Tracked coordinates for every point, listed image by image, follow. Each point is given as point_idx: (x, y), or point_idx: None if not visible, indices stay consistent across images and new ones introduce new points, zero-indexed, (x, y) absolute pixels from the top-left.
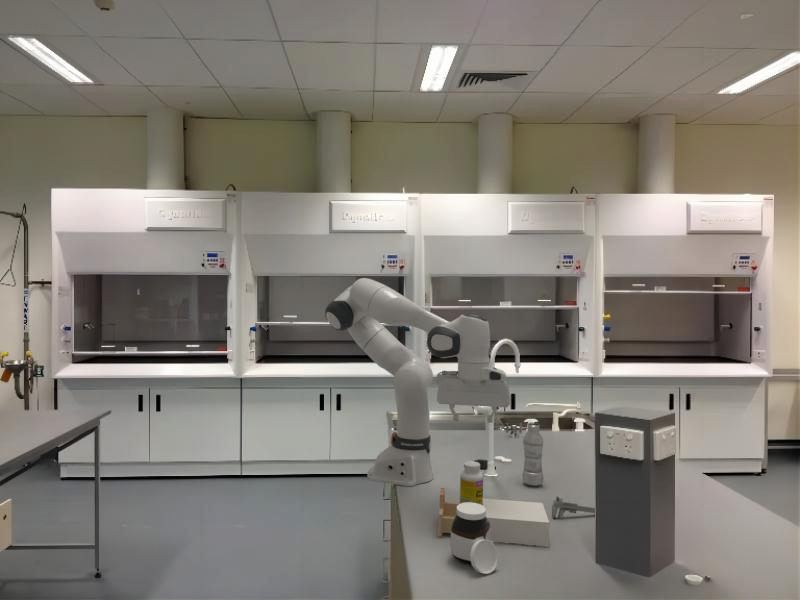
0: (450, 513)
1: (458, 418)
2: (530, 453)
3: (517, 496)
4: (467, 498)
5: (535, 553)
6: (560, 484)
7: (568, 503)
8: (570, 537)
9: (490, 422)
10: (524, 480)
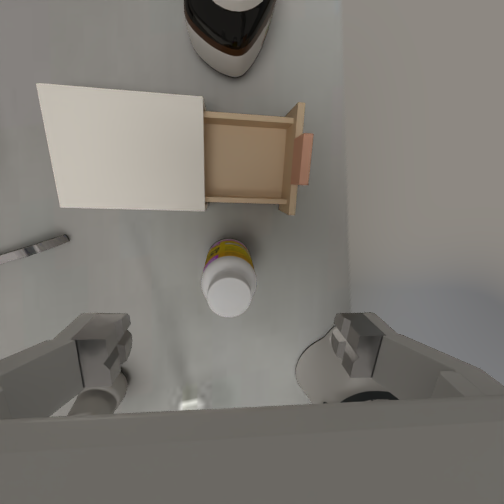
0: (270, 197)
1: (335, 341)
2: None
3: (140, 322)
4: (237, 245)
5: (101, 68)
6: None
7: (11, 252)
8: (29, 154)
9: (103, 315)
10: (123, 378)
